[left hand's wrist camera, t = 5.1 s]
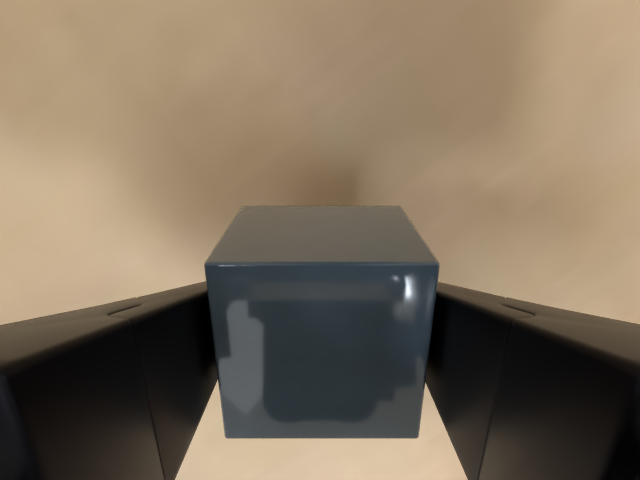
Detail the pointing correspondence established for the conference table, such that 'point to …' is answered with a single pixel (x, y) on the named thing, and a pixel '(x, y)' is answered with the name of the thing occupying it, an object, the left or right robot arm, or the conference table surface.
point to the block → (321, 322)
